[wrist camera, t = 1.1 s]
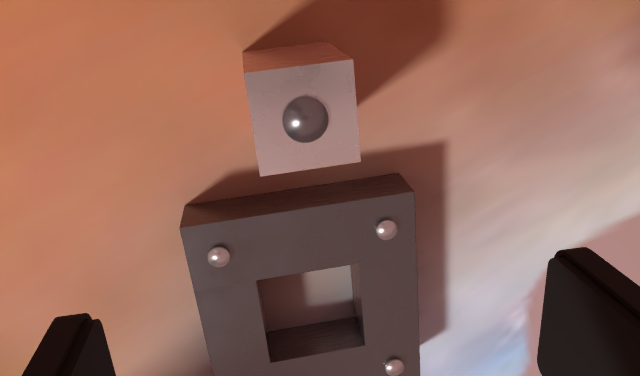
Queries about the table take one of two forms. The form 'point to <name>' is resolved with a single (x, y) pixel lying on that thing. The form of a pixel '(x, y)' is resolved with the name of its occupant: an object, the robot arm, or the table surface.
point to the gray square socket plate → (304, 256)
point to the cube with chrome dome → (302, 107)
